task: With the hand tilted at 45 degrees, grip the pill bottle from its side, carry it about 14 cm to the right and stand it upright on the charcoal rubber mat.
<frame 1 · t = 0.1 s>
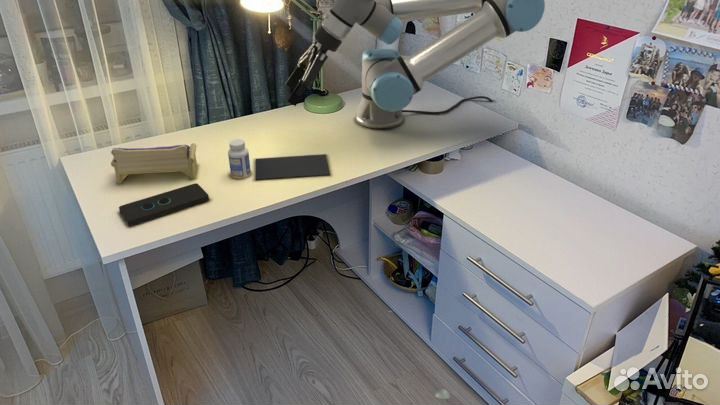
hand: (290, 94, 162), 15 cm above the table, tool tilted 35°, fingers open, 13 cm apart
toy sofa: (159, 175, 153), on the table
mat: (292, 167, 157), on the table
smart home device: (165, 207, 140), on the table
pill bottle: (241, 175, 154), on the table
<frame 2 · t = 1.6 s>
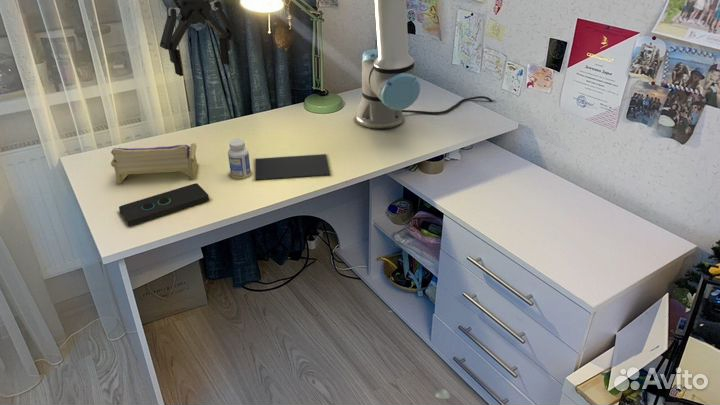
hand: (203, 69, 148), 26 cm above the table, tool pointing down, fingers open, 13 cm apart
nothing on the table moved.
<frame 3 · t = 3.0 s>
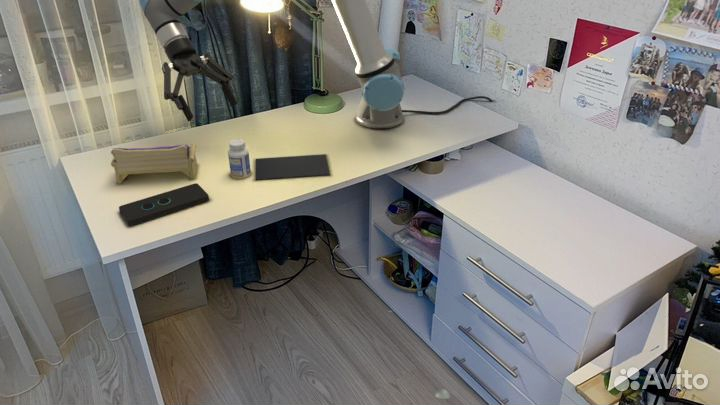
hand: (213, 112, 152), 15 cm above the table, tool tilted 45°, fingers open, 13 cm apart
nothing on the table moved.
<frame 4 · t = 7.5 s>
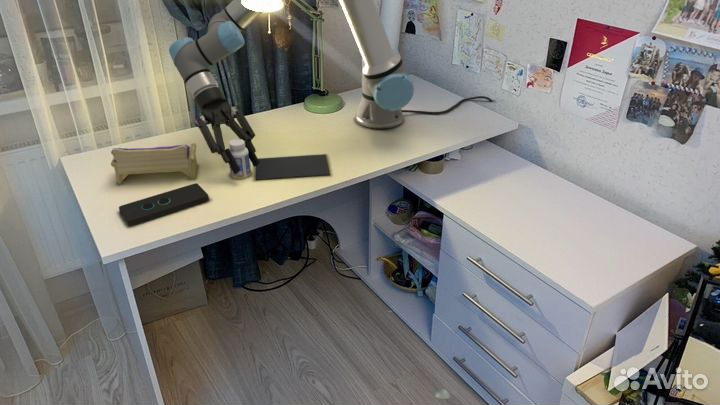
hand: (247, 168, 150), 3 cm above the table, tool tilted 45°, fingers closed on pill bottle, 5 cm apart
pill bottle: (240, 174, 154), on the table, touching gripper
everything else where it was.
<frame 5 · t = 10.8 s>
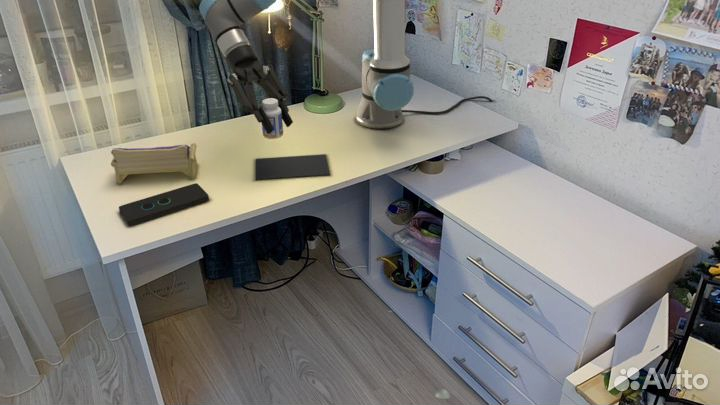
hand: (280, 127, 146), 14 cm above the table, tool tilted 45°, fingers closed on pill bottle, 5 cm apart
pill bottle: (273, 135, 150), point 11 cm above the table, touching gripper
everything else where it was.
when the fingers open (4 cm above the table, at t = 14.6 s): pill bottle stays where it is, resting on mat.
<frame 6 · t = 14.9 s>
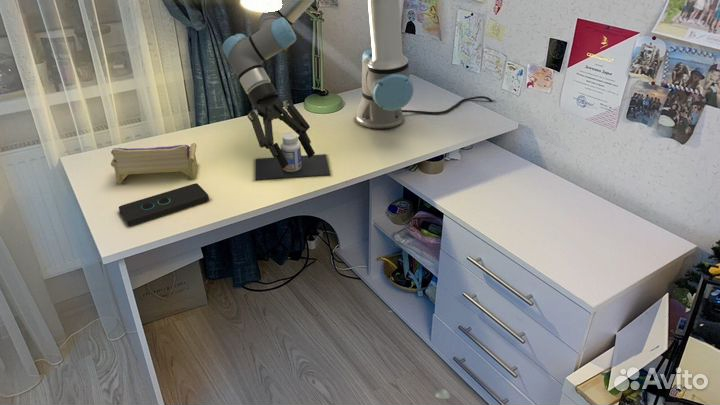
hand: (298, 160, 152), 4 cm above the table, tool tilted 45°, fingers open, 8 cm apart
pill bottle: (292, 168, 156), resting on mat
everything else where it was.
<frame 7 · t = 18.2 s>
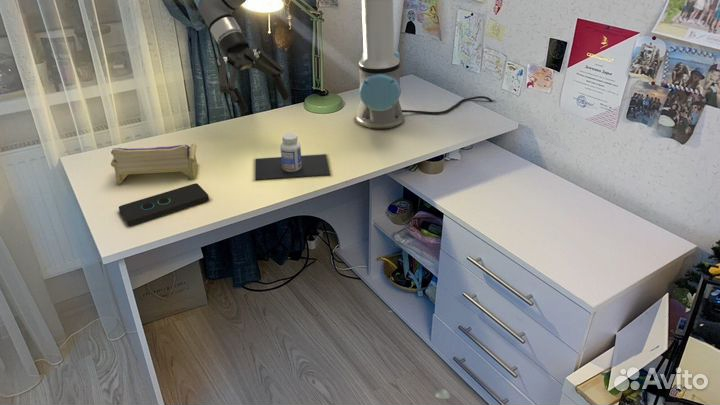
hand: (267, 104, 154), 16 cm above the table, tool tilted 45°, fingers open, 13 cm apart
nothing on the table moved.
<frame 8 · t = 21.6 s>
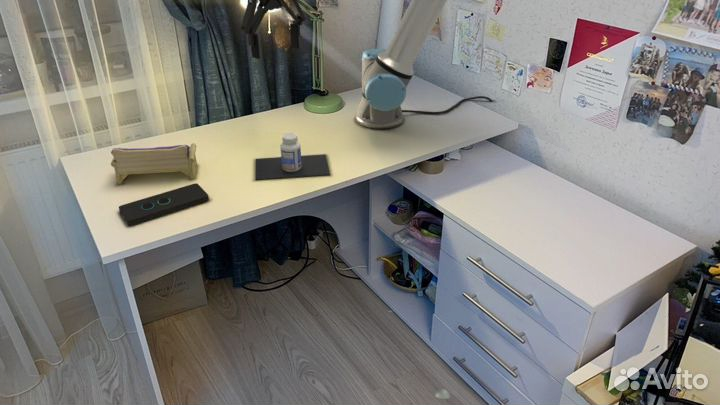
hand: (276, 52, 159), 27 cm above the table, tool pointing down, fingers open, 13 cm apart
nothing on the table moved.
at the end: pill bottle inside the target area (0.4 cm from its centre), resting on mat; pill bottle tilted 0°; the gripper is holding nothing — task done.
